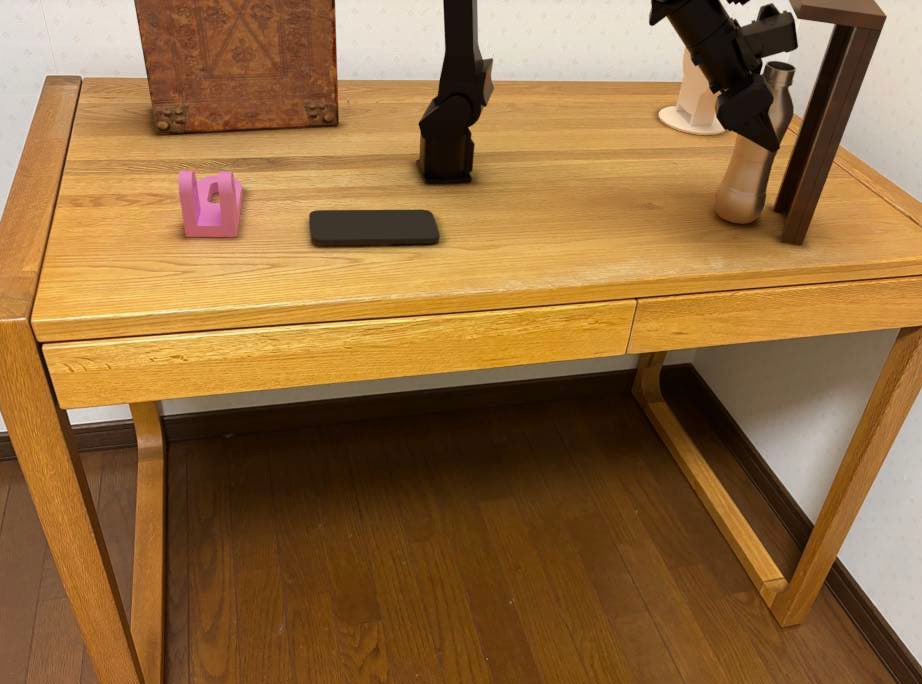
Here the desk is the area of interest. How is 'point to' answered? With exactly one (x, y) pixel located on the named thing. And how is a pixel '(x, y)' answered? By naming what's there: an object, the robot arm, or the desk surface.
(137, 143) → the desk surface
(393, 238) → the phone
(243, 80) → the book
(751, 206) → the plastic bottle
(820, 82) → the dark wooden stand
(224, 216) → the bracket
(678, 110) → the beige rounded piece
